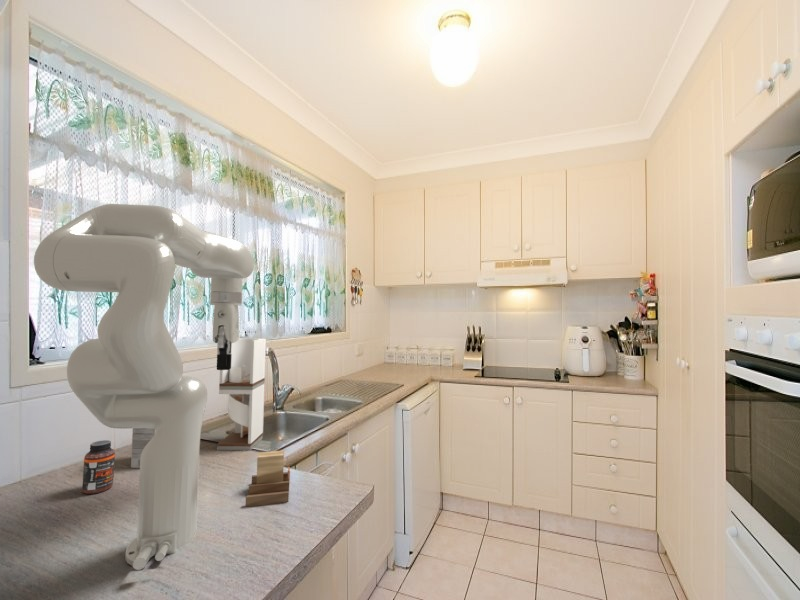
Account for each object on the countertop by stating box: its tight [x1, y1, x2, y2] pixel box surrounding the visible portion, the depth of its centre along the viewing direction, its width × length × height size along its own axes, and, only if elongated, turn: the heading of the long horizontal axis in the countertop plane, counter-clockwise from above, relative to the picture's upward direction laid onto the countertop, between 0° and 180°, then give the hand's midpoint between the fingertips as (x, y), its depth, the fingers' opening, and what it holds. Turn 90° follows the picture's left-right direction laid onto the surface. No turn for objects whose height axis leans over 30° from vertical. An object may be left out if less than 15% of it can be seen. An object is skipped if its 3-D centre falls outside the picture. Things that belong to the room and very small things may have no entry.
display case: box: [216, 337, 267, 451], centre depth 123 cm, size 11×11×35 cm
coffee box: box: [130, 428, 157, 469], centre depth 107 cm, size 9×6×16 cm
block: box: [256, 450, 285, 484], centre depth 89 cm, size 3×6×8 cm, turn 106°
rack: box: [245, 466, 291, 508], centre depth 87 cm, size 11×9×6 cm
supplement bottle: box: [81, 439, 116, 495], centre depth 90 cm, size 6×6×11 cm
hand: (223, 369), depth 96 cm, fingers closed
